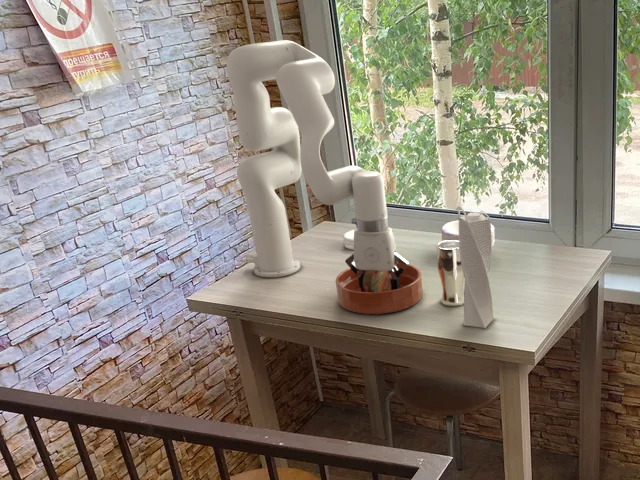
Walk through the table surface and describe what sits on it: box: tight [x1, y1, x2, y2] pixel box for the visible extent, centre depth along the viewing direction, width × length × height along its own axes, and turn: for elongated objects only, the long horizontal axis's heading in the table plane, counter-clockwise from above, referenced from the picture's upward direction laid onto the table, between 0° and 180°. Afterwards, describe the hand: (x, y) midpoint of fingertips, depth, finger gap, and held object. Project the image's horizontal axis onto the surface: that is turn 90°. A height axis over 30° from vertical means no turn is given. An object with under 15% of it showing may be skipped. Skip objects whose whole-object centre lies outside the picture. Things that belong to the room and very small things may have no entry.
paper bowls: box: [440, 219, 496, 247], centre depth 228 cm, size 15×15×8 cm
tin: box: [363, 270, 392, 292], centre depth 199 cm, size 15×3×8 cm, turn 168°
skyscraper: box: [456, 205, 495, 329], centre depth 181 cm, size 8×8×28 cm
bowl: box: [335, 263, 424, 315], centre depth 200 cm, size 21×21×6 cm
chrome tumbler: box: [436, 240, 465, 307], centre depth 195 cm, size 7×7×15 cm
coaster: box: [343, 229, 355, 251], centre depth 237 cm, size 10×10×4 cm
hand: (380, 290), depth 200 cm, fingers open, 7 cm apart
